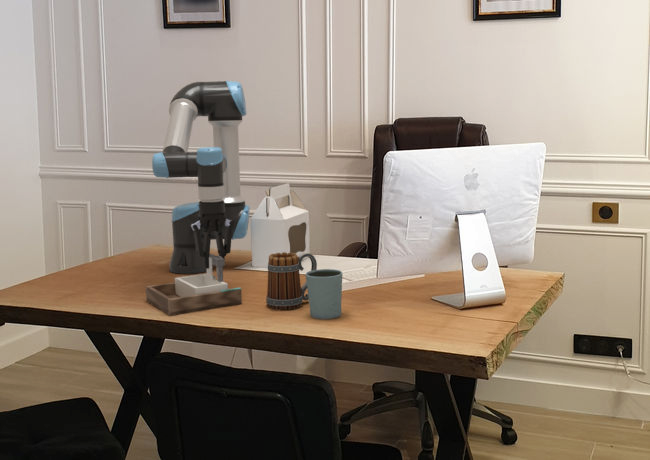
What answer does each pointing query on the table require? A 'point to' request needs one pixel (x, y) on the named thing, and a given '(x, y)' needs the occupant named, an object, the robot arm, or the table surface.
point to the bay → (190, 299)
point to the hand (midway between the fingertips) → (214, 278)
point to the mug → (286, 281)
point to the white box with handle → (202, 281)
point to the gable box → (279, 226)
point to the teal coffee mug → (324, 293)
